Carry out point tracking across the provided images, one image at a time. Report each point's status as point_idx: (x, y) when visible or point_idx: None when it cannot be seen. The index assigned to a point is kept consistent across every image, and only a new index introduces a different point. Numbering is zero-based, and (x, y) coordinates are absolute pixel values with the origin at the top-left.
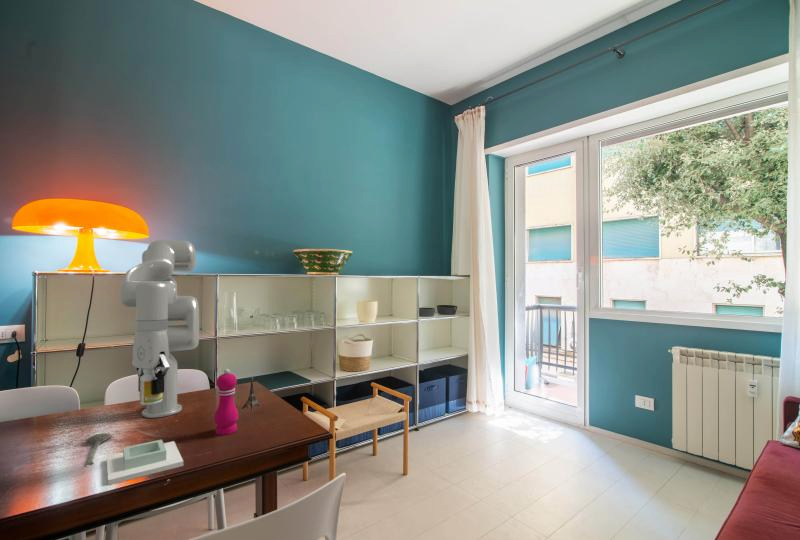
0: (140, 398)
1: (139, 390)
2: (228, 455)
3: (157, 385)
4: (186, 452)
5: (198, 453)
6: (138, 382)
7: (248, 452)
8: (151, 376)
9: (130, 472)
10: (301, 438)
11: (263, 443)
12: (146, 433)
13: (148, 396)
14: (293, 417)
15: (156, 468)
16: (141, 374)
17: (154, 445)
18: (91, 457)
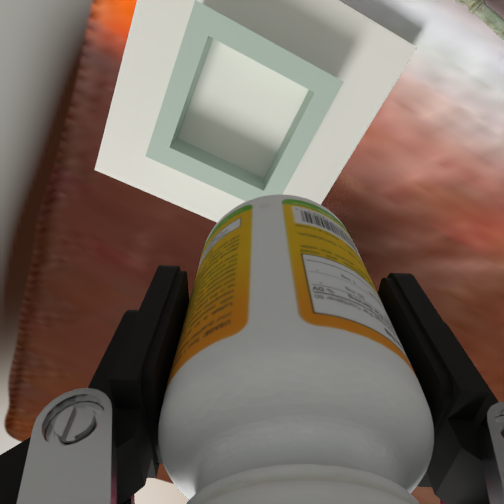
0: (296, 212)
1: (394, 277)
2: (64, 271)
3: (108, 351)
4: (196, 231)
5: (155, 242)
6: (452, 335)
7: (39, 305)
8: (187, 440)
9: (159, 3)
10: (19, 403)
11: (66, 354)
12: (481, 264)
13: (216, 247)
14: (161, 468)
15: (116, 85)
16: (484, 451)
17: (268, 177)
18: (477, 2)
